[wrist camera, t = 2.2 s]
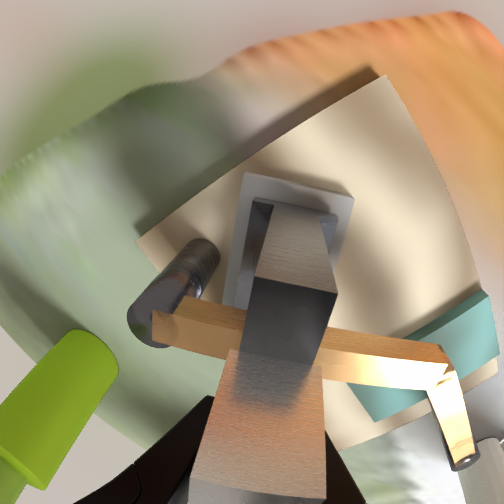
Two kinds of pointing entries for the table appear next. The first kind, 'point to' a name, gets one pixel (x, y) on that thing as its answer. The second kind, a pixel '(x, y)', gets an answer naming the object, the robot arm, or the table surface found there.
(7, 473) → the soap dispenser
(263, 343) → the grey boxy piece
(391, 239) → the beige rectangular panel
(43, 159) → the table surface
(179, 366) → the table surface
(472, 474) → the paper towel roll
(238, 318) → the wooden crank handle
